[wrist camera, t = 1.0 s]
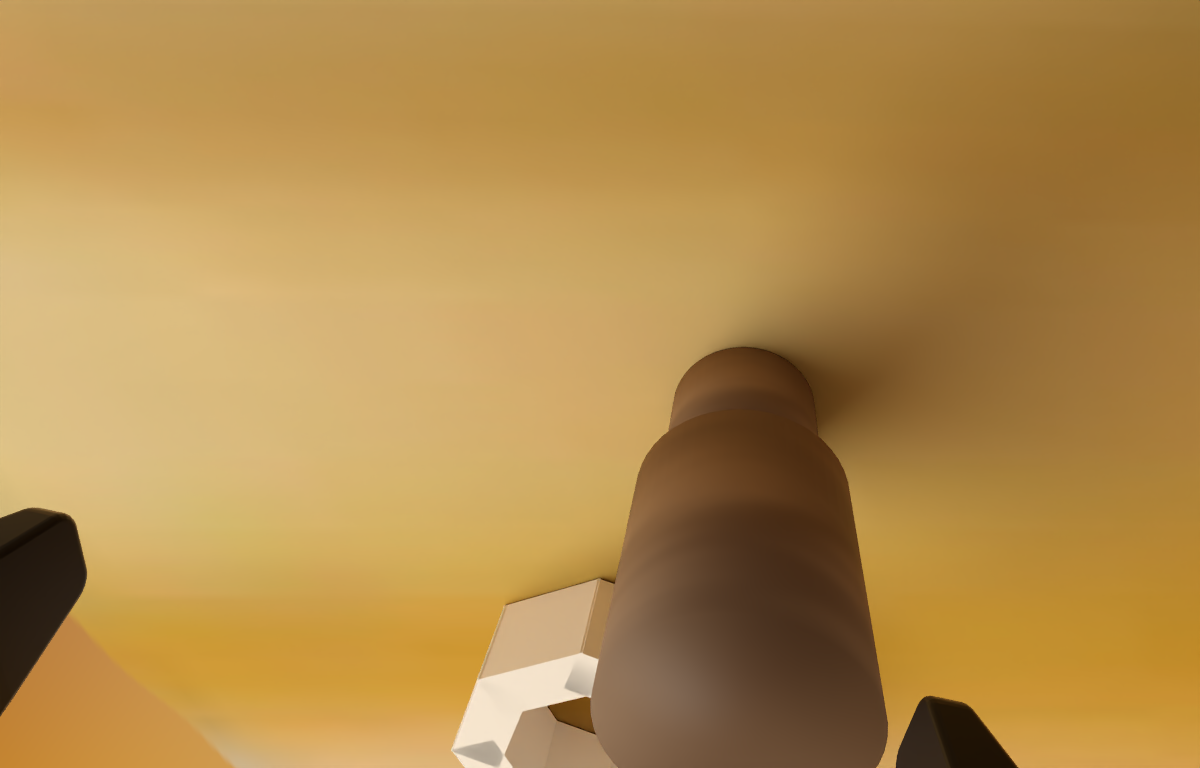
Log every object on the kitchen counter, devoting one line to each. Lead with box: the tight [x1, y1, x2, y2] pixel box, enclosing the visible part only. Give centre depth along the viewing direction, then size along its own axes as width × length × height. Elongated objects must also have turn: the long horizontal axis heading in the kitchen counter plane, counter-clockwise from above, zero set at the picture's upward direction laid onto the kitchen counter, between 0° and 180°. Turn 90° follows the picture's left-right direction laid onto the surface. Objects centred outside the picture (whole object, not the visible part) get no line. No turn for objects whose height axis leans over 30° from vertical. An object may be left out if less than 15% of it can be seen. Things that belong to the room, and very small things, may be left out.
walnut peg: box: [590, 347, 888, 768], centre depth 18 cm, size 5×5×10 cm
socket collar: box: [451, 578, 618, 768], centre depth 26 cm, size 8×8×3 cm
